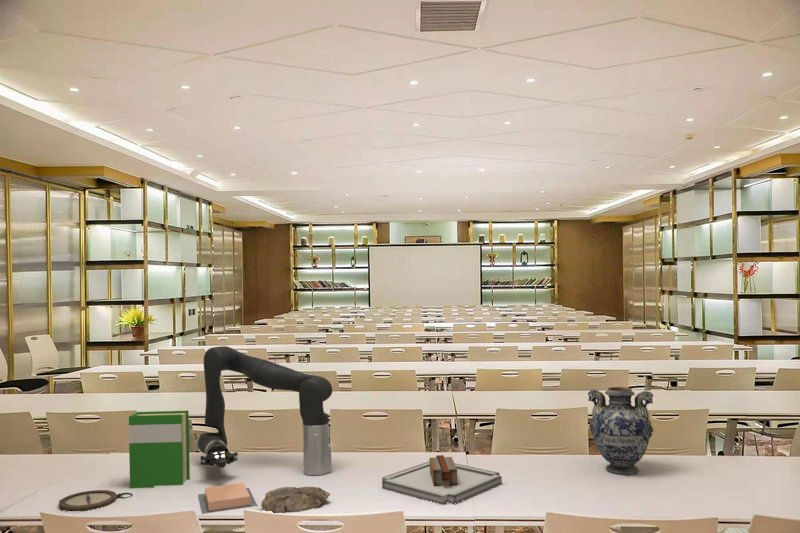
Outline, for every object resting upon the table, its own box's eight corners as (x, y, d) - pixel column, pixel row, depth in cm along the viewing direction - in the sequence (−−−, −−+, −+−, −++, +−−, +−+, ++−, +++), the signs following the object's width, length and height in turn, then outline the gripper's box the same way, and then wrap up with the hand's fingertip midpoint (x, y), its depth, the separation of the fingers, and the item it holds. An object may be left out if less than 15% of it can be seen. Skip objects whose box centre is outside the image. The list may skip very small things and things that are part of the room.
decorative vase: (586, 475, 218) (584, 391, 219) (592, 461, 235) (590, 383, 236) (655, 481, 210) (652, 394, 211) (656, 466, 227) (653, 385, 228)
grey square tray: (376, 488, 212) (376, 465, 212) (435, 467, 234) (435, 446, 234) (449, 508, 192) (448, 483, 192) (506, 483, 214) (505, 460, 214)
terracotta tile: (243, 482, 209) (250, 496, 195) (243, 491, 209) (250, 505, 195) (204, 487, 205) (208, 502, 191) (205, 496, 205) (208, 511, 191)
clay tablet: (331, 496, 205) (266, 498, 204) (330, 480, 205) (266, 482, 204) (329, 513, 191) (260, 515, 190) (329, 496, 191) (260, 498, 190)
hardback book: (189, 480, 225) (188, 410, 226) (182, 486, 218) (181, 414, 218) (138, 481, 225) (137, 411, 226) (129, 488, 218) (128, 416, 219)
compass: (46, 514, 196) (46, 507, 196) (73, 496, 212) (73, 490, 212) (113, 512, 196) (113, 505, 196) (135, 494, 212) (135, 488, 212)
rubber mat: (248, 489, 213) (248, 487, 213) (257, 507, 195) (257, 505, 195) (197, 496, 207) (197, 494, 207) (201, 515, 190) (201, 513, 190)
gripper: (197, 443, 228) (200, 455, 212) (235, 439, 233) (242, 450, 217) (197, 465, 228) (201, 478, 212) (236, 460, 233) (242, 473, 217)
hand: (221, 464), depth 214 cm, fingers closed
